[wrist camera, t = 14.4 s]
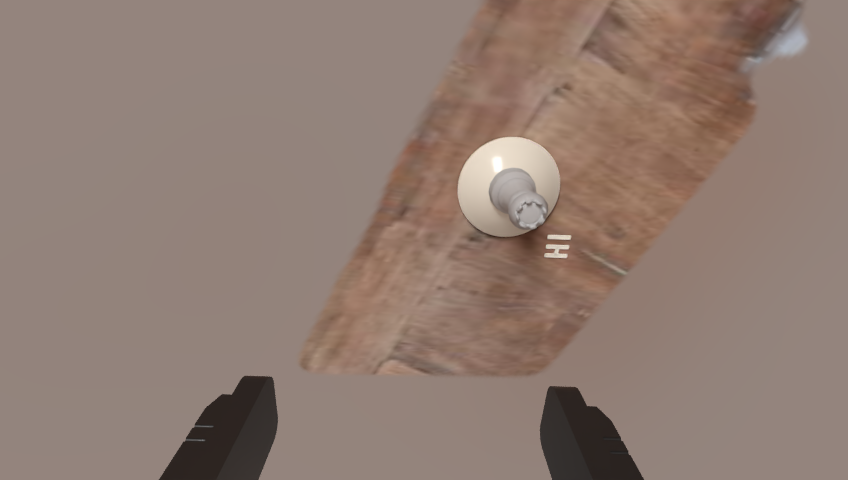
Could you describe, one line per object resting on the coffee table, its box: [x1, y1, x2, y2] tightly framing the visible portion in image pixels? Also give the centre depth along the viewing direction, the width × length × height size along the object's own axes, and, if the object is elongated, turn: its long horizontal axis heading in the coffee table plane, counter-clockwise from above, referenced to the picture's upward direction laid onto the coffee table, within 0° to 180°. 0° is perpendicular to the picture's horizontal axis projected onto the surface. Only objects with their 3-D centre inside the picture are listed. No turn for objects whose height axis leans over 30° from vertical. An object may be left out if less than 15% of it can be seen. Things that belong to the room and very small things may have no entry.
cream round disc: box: [457, 136, 560, 237], centre depth 40 cm, size 10×10×1 cm
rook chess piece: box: [488, 168, 548, 230], centre depth 36 cm, size 4×4×8 cm
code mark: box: [544, 235, 571, 258], centre depth 43 cm, size 2×2×1 cm
